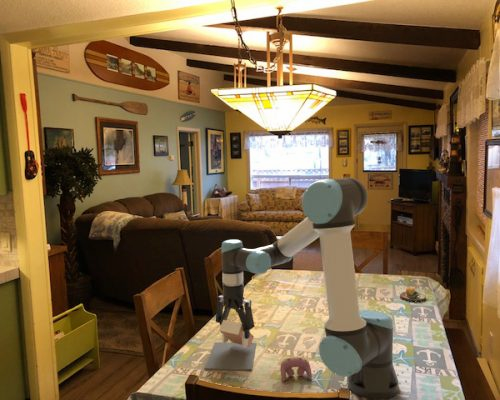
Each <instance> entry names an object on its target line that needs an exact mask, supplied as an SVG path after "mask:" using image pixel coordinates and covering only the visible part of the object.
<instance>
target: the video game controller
mask: <svg viewBox="0 0 500 400" xmlns="http://www.w3.org/2000/svg"><path fill="white" fill-rule="evenodd" d="M294 368H297V370H296V374H297V375H298V376H299V377H302V376H303V375H304V374H305V373H306V377H307V378H308V380H310V381H311V380H312V368H311V365H310V362H309V361H308V360H307V359H305V358H303V357H298V356H297V357H289V358H286V359H284V360H282V361H281V363H280V376H281V380H282V382H283V383H284V382H286V379H287V376H288V377H293V376H295V371H294Z"/></svg>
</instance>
